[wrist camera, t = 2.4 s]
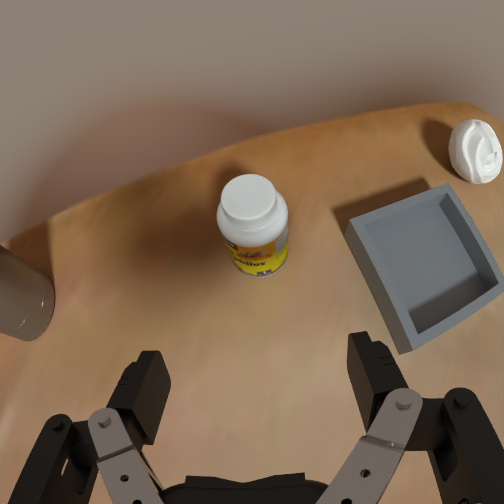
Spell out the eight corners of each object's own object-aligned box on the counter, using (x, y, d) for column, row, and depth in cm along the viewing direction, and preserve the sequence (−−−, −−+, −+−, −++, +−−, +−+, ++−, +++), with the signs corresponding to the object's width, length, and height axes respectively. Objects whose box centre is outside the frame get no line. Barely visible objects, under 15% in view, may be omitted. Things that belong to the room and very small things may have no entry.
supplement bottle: (221, 263, 31) (193, 209, 22) (250, 220, 33) (235, 155, 24) (270, 290, 30) (262, 243, 20) (298, 242, 31) (301, 181, 22)
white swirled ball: (457, 199, 31) (485, 159, 24) (428, 151, 35) (447, 109, 28) (496, 188, 31) (523, 152, 24) (468, 145, 35) (488, 107, 28)
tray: (399, 354, 26) (413, 350, 22) (343, 236, 31) (349, 219, 28) (491, 298, 26) (508, 288, 23) (437, 199, 32) (448, 182, 28)
